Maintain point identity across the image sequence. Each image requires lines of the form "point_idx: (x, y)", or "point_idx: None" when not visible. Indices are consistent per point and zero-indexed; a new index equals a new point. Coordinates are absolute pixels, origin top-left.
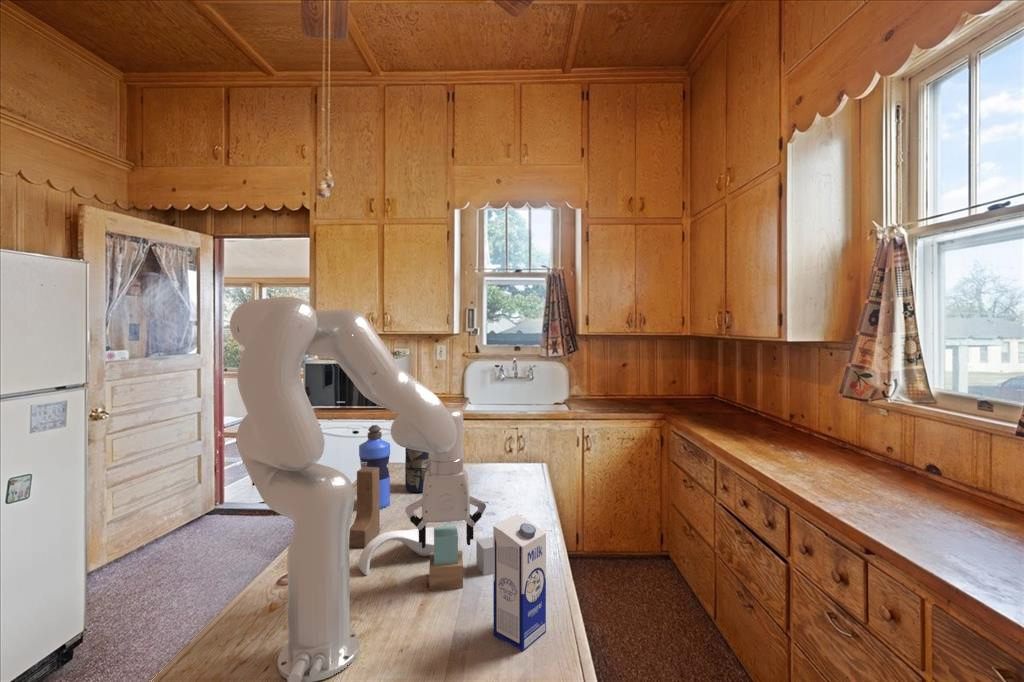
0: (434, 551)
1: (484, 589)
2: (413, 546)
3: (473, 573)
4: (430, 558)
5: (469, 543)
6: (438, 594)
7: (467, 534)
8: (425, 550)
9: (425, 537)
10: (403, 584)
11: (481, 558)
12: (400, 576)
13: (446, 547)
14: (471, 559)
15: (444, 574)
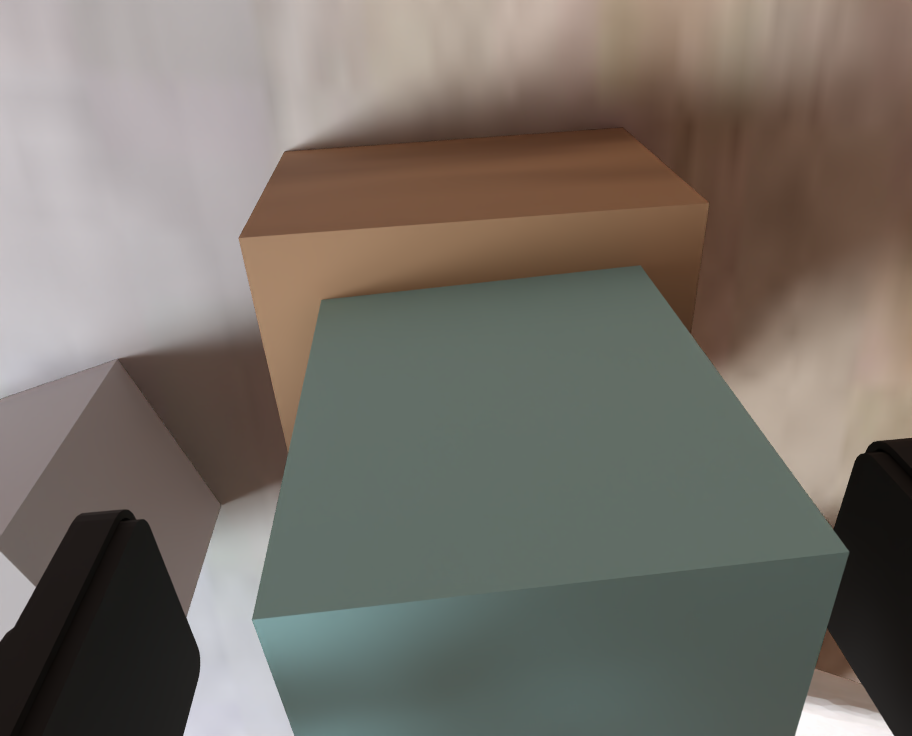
0: (706, 365)
1: (43, 111)
2: None
3: (224, 394)
4: None
5: (83, 528)
6: (531, 47)
7: (58, 685)
8: None
9: (908, 627)
10: (848, 253)
11: (107, 495)
12: (852, 373)
13: (505, 420)
14: None
15: (489, 183)
